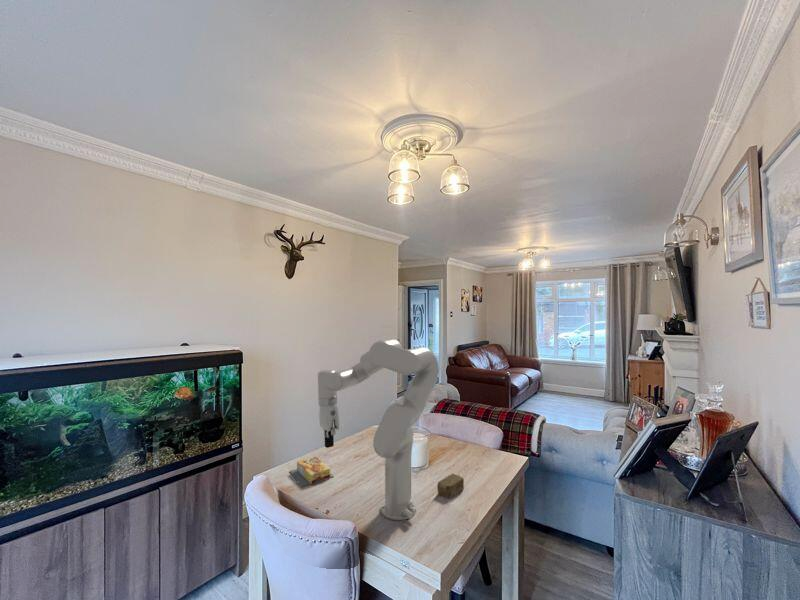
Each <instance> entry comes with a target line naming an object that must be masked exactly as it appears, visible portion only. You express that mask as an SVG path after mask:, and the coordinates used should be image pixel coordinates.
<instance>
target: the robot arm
mask: <svg viewBox="0 0 800 600" xmlns="http://www.w3.org/2000/svg"><path fill="white" fill-rule="evenodd" d="M383 369H387V370H389V371H392V372H395V373H398V374H401V375H404V376H411V375H412V376H413V377H412V378H411V380H410V381H409V383H408V386H407V388H406V390H405V392H404V394H403V395H402V396H401V398H400V399H398V400H395V402H393V403H391V404H390V405H389V406H388V407H387V408H386V410H385V412H384V414H383V415H382V416H383V417H382V418H381V421H380V423H379V424H378V427H377V429H376V431H375V434H374V436H373V441H372V443H373V449H374V452H375V453H376V454H377V455H378V456H379V457H380V458H383V459H384V460H385V462H384V465H385V466H384V501H383V502H382V503H381V504H380V512H381V514H382V516H383V517H385V518H387V519H389V520H391V521H392V520H393V521H404V520H407V519H410V520H411V519H412V518H413V517H414V515H415V514H416V513H417V510H416V508H417V507H416V504H415V502H413V500H412V455H413V454H412V452H413V445H414V429H413V427H412V426H414V425H415V424H416V423H417V422H418V421H419V420H420V419H421V417H422V415H423V412H424V410H425V409H426V408H425V407H426V406H427V404H428V402H429V400H430V397H431V395H432V393H433V391H434V388H435V387H436V384H437V382H438V378H439V376H440V375H439V374H440V372H439V371H440V366H439V361H438V359H437V357H436V355H435V353H434V352H433V351H432V350H431V349H429V348H427V347H425V346H419V347H417V346H416V347H413V348H409V349H406V348H403V346H402V344H401V343H400V342H399V341H398V340H397V339H392V338H389V339H382V340H378V341H375V342H374V343H372V345H371V346H370V348H369V351H366V352H365V353H363V354H362V355H361V356H360V358H359V362H358V363H357V364H355V365H353V366H351V367H349V368H346V369H341V370H338V371H336V370H334V369H325V370H323V369H322V370H320V371H318V373H317V392H318V393H317V395H318V396H317V397H318V406H319V414H318V416H319V426H320V427H321V428H322V430H323V435H324V447H325V448H326V449H328V448H332V447H334V445H335V443H334V442H335V441H334V440H335V438H334V437H335V435H336V432H337V431H336V430H340V416H339V409H338V408H339V407H338V392H340V391H342V390H346V389H348V388H353V387H355V386H357V385H358V384H360V383H362V382H364V381H365V380H368V379H369V378H371V377H372V376H373V375H374V374H377V372H380V371H381V370H383Z"/></svg>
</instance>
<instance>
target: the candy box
mask: <svg viewBox="0 0 800 600" xmlns="http://www.w3.org/2000/svg"><path fill="white" fill-rule="evenodd" d="M296 465H297V466H296V469H297V471H298V472H299V473H300V474H301V475H302V476H303V477H304V478H305V479H306V480H308V481H309V482H310V483H311V484H310V485H313V484H316V483H319V481H320V482H322V480H323V481H325V480H324V479H326V480H328V479H327V478H329V479H331V478H330V473H331V468H330V467H329V466H327V465H326V464H325V463H324V462H322V461H321V460H320V459H319V458H317V457H316V456H312V457H309V458H305V459H302V460H299V461H297V462H296Z"/></svg>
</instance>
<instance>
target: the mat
mask: <svg viewBox="0 0 800 600" xmlns="http://www.w3.org/2000/svg"><path fill="white" fill-rule="evenodd" d="M290 472H291V473H290ZM289 473H290V474H291V476H292V477H293V476H294V477H295V478H294V477H293V478H294V479H295V480H296V481H298V482H299V483H298V482H297V483H298V484H299V485H300V487H301V486H303V487H306V485H307V486H309V484H310V485H312V484H311V483H310V482H309V481H308V480H306V479H305V478H304V477H303V476H302V475H301V474H300V473H299V472H298V471H297V468H295V469H292V470H291V469H290V470H289ZM334 477H335V476H334V475H333V474H332V473H331V472H330V478H327V479H324V480H322V481H326V480H329V479H333V478H334ZM322 481H321V482H322Z"/></svg>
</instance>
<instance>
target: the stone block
mask: <svg viewBox="0 0 800 600" xmlns="http://www.w3.org/2000/svg"><path fill="white" fill-rule="evenodd" d="M464 483H465V480H464V478H463V477H462V476H461V475H457V474H455V473H451V474H450V475H447V476H446V477H444V478H443V479H441V480H440V481H438V482H437V494H438V495H440V496H441V497H443V498H446V499H450V498H452V497H453V496H455V495H457V494H458V493H459V491H460V492H461V491H463V490H464V489H465V487H464V485H465V484H464ZM462 489H463V490H462ZM456 493H457V494H456Z"/></svg>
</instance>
